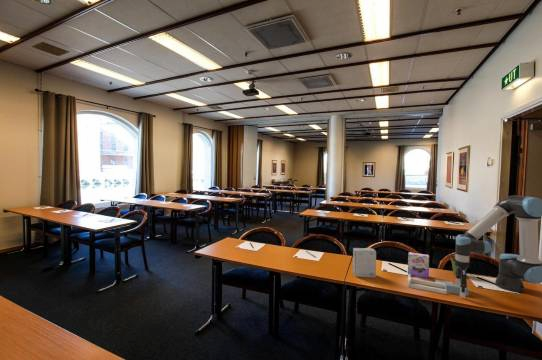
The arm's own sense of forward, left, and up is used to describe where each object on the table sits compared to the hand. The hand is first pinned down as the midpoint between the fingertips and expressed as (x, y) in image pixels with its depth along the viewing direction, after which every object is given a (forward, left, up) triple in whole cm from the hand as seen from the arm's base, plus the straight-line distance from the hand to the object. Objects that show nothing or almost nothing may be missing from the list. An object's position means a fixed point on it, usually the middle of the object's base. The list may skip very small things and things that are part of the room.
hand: (460, 292), depth 169 cm
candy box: (+23, -21, -1) cm, 31 cm away
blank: (+2, 0, -1) cm, 2 cm away
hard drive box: (+60, -1, -1) cm, 60 cm away
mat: (+7, -12, -1) cm, 14 cm away
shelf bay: (+19, 0, -1) cm, 19 cm away
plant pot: (-6, -38, -1) cm, 39 cm away
